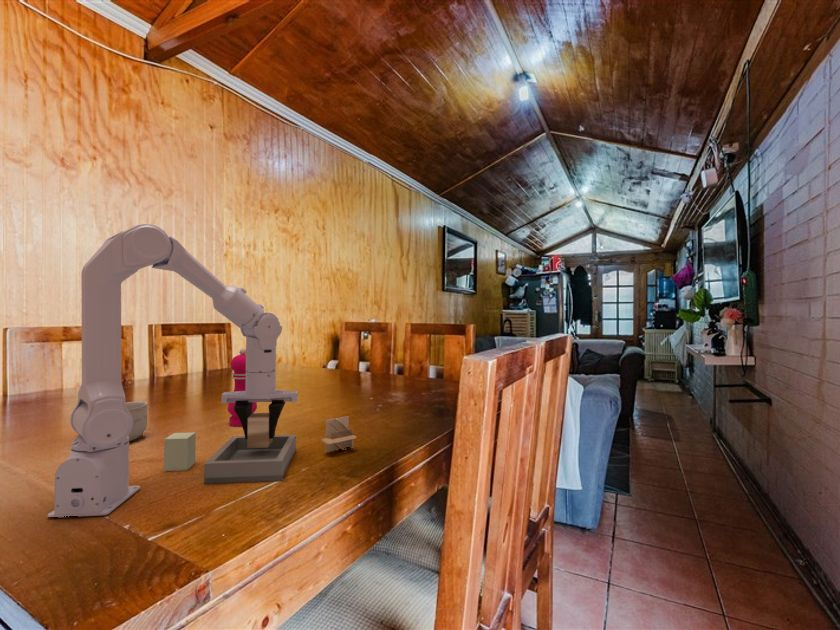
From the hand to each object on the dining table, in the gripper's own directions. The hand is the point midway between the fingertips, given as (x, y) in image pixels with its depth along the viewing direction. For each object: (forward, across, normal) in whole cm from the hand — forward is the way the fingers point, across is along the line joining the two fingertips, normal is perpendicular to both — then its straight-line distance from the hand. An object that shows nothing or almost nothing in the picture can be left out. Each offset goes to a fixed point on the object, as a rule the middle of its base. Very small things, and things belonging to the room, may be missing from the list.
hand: (260, 437), depth 85 cm
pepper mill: (+4, +11, -28) cm, 30 cm away
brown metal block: (+2, 0, 0) cm, 2 cm away
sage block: (+4, +14, +3) cm, 15 cm away
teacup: (+4, +34, -17) cm, 38 cm away
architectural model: (+5, -16, -3) cm, 17 cm away
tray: (+4, 0, +4) cm, 6 cm away
